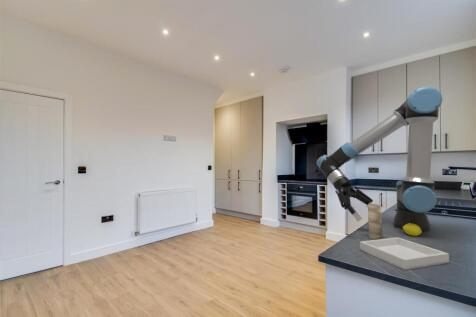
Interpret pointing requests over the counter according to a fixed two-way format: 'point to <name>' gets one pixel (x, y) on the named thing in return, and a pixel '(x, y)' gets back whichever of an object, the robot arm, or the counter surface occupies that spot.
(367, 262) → the counter surface
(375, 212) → the dowel
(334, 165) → the robot arm
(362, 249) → the tray
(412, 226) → the lemon
